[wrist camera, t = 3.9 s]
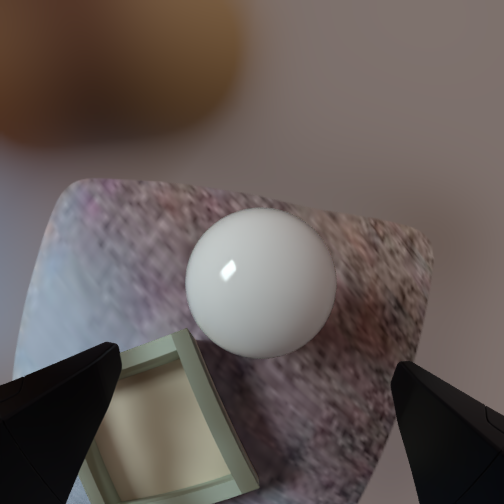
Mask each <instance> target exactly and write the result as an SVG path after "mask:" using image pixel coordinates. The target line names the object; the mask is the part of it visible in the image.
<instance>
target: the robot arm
mask: <svg viewBox="0 0 504 504" xmlns="http://www.w3.org/2000/svg"><path fill="white" fill-rule="evenodd" d="M121 371H122V361H121V356H120V351H119V347H118V345H117V344H116V343H111V342H104V343H102V344H99V345H97V346H95V347H92V348H90V349H88V350H85V351H83V352H81V353H78V354H76V355H74V356H71V357H69V358H67V359H64V360H62V361H60V362H57V363H55V364H52V365H50V366H48V367H45V368H43V369H40V370H38V371H36V372H33V373H31V374H28V375H26V376H25V377H21V378H19V379H16V380H14V381H11V382H8V383H6V384H3V385H0V504H66V502H67V499H68V497H69V494H70V492H71V490H72V487H73V485H74V482H75V480H76V478H77V475H78V473H79V471H80V469H81V466H82V464H83V462H84V459H85V457H86V455H87V453H88V450H89V448H90V446H91V444H92V442H93V440H94V437H95V435H96V433H97V431H98V429H99V427H100V424H101V422H102V420H103V418H104V416H105V414H106V412H107V410H108V407H109V405H110V402H111V400H112V397H113V394H114V391H115V388H116V385H117V382H118V379H119V377H120V374H121ZM391 391H392V396H393V401H394V406H395V411H396V417H397V421H398V426H399V429H400V433H401V436H402V440H403V443H404V446H405V450H406V453H407V457H408V460H409V464H410V468H411V471H412V475H413V479H414V483H415V486H416V491H417V495H418V499H419V503H420V504H504V416H503V415H501V414H500V413H498V412H496V411H494V410H493V409H491V408H489V407H487V406H485V405H484V404H482V403H480V402H479V401H477V400H475V399H474V398H472V397H470V396H469V395H467V394H465V393H464V392H462V391H460V390H458V389H457V388H455V387H453V386H452V385H450V384H448V383H447V382H445V381H443V380H441V379H440V378H438V377H437V376H435V375H433V374H431V373H430V372H428V371H426V370H424V369H423V368H421V367H420V366H418V365H416V364H415V363H413V362H411V361H401V362H399V363H398V364H397V366H396V369H395V372H394V375H393V378H392V381H391Z"/></svg>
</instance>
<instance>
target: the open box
mask: <svg viewBox="0 0 504 504" xmlns="http://www.w3.org/2000/svg"><path fill="white" fill-rule="evenodd" d="M120 356H121V361H122V371H121V374H120V377H119V379H118V382H117V385H116V388H115V391H114V394H113V397H112V400H111V402H110V405H109V407H108V410H107V412H106V414H105V416H104V418H103V420H102V422H101V424H100V427H99V429H98V431H97V433H96V435H95V437H94V440H93V442H92V444H91V446H90V448H89V450H88V453H87V455H86V457H85V459H84V462H83V464H82V466H81V469H80V471H79V473H78V475H79V478H80V480H81V482H82V485H83V487H84V489H85V491H86V494H87V496H88V498H89V500H90V502H91V504H213V503H216V502H220V501H223V500H226V499H229V498H232V497H235V496H238V495H241V494H244V493H247V492H250V491H252V490H255V489H258V488H260V487H259V478H258V475H257V473H256V471H255V469H254V467H253V465H252V463H251V462H250V460H249V458H248V456H247V454H246V452H245V450H244V448H243V446H242V444H241V442H240V439H239V437H238V435H237V433H236V431H235V429H234V427H233V425H232V423H231V421H230V418H229V416H228V414H227V412H226V410H225V408H224V405H223V403H222V401H221V399H220V397H219V394H218V392H217V390H216V387H215V385H214V383H213V381H212V378H211V376H210V374H209V371H208V369H207V366H206V364H205V362H204V359H203V357H202V354H201V352H200V349H199V347H198V344H197V342H196V340H195V338H194V337H193V336H192V334H191V333H190V332H189V330H188V329H187V328H186V329H183V330H180V331H178V332H175V333H173V334H170V335H167V336H165V337H162V338H159V339H157V340H154V341H151V342H149V343H146V344H143V345H140V346H138V347H135V348H132V349H129V350H127V351H124V352H121V353H120Z"/></svg>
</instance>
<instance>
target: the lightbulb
mask: <svg viewBox="0 0 504 504" xmlns="http://www.w3.org/2000/svg"><path fill="white" fill-rule="evenodd" d="M185 288H186V297H187V302H188V305H189V308H190V311H191V314H192V316H193V318H194V320H195V321H196V323H197V325H198V326H199V328H200V329H201V330H202V331H203V333H204V334H205V335H206V336H207V337H208V338H209V339H210V340H211V341H213V342H214V343H215V344H216V345H218V346H219V347H221V348H223V349H224V350H226V351H228V352H230V353H233V354H235V355H238V356H242V357H246V358H253V359H269V358H275V357H280V356H283V355H286V354H289V353H291V352H294V351H296V350H298V349H299V348H301V347H302V346H304V345H305V344H307V343H308V342H309V341H310V340H312V339H313V338H314V337H315V336H316V335H317V334H318V332H319V331H320V330H321V329H322V327H323V326H324V325H325V323H326V321H327V319H328V318H329V315H330V313H331V311H332V308H333V305H334V301H335V296H336V288H337V278H336V270H335V265H334V261H333V258H332V256H331V253H330V251H329V249H328V247H327V245H326V243H325V242H324V240H323V239H322V238H321V236H320V235H319V234H318V233H317V232H316V231H315V230H314V229H313V228H312V227H311V226H310V225H309V224H307V223H306V222H305V221H303V220H302V219H300V218H298V217H297V216H295V215H293V214H290V213H288V212H285V211H281V210H277V209H272V208H250V209H245V210H241V211H237V212H235V213H232V214H230V215H228V216H226V217H224V218H222V219H220V220H219V221H217V222H216V223H215V224H213V225H212V226H211V227H210V228H209V229H208V230H207V231H206V232H205V233H204V234H203V235H202V237H201V238H200V239H199V241H198V242H197V244H196V246H195V247H194V249H193V251H192V254H191V256H190V259H189V262H188V265H187V270H186V279H185Z"/></svg>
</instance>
